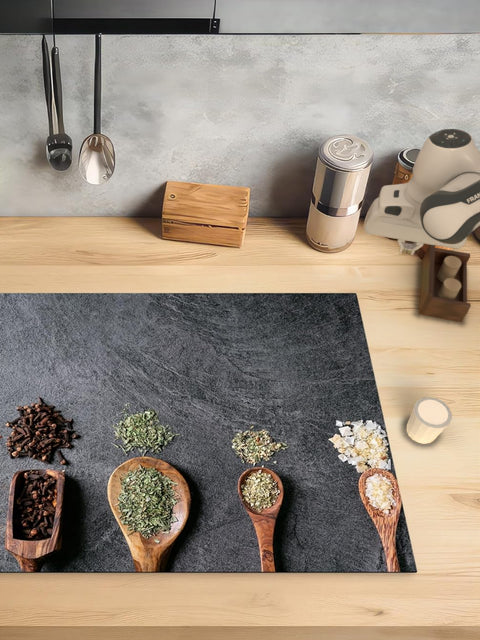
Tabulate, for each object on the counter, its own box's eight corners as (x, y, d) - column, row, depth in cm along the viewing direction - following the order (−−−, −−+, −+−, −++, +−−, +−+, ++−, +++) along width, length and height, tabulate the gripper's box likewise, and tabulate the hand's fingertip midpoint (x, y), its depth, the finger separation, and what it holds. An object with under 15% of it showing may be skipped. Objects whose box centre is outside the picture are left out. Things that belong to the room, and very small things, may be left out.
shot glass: (442, 447, 140) (455, 428, 134) (406, 445, 140) (417, 427, 135) (435, 416, 144) (448, 397, 138) (400, 415, 144) (411, 395, 139)
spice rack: (461, 269, 167) (472, 249, 161) (461, 322, 158) (473, 302, 152) (421, 262, 168) (430, 241, 163) (418, 314, 159) (428, 294, 154)
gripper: (480, 201, 146) (457, 250, 157) (374, 184, 150) (359, 234, 161) (480, 222, 142) (456, 271, 153) (371, 205, 146) (356, 254, 157)
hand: (405, 252), depth 157 cm, fingers closed
